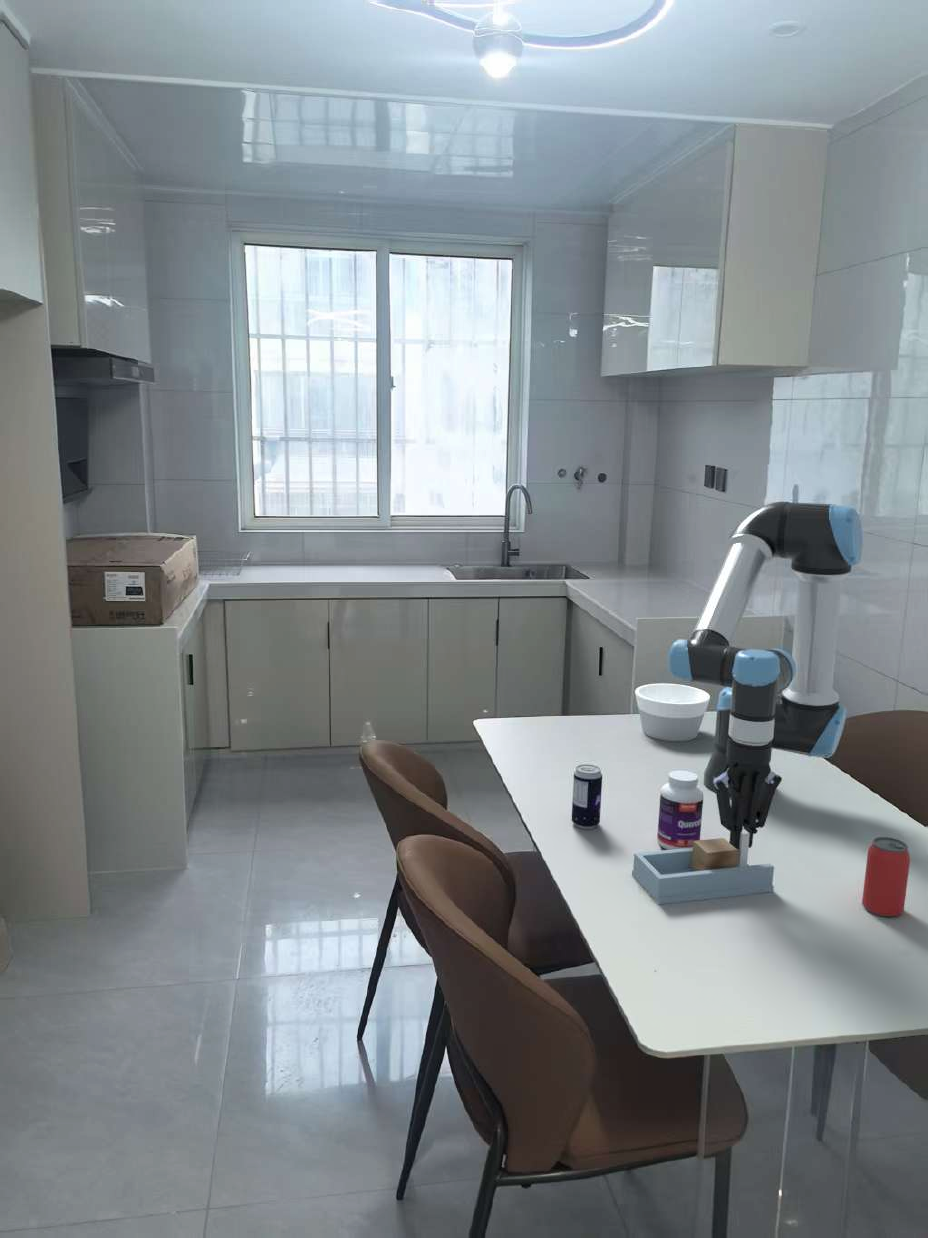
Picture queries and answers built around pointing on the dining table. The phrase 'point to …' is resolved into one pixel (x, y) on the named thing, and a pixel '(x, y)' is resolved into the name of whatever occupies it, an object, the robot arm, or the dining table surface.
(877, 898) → the beer can
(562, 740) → the dining table surface
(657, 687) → the bowl
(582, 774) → the beverage can
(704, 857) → the walnut block
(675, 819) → the pill bottle
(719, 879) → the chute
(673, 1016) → the dining table surface
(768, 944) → the dining table surface
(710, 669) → the robot arm
